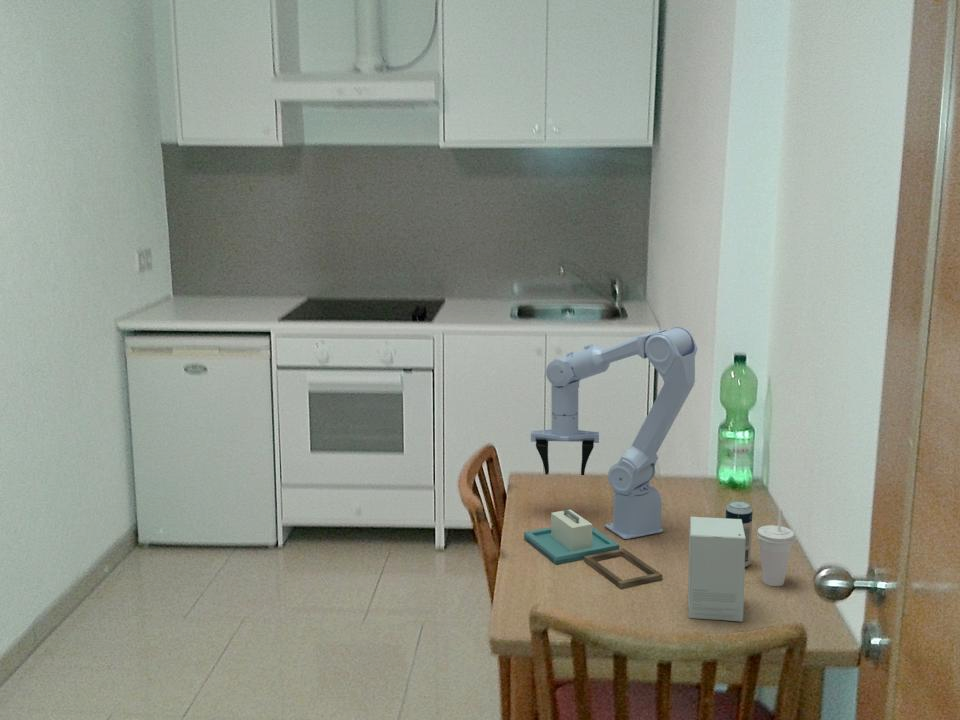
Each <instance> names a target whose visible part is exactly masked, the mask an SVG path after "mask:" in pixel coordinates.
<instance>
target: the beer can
mask: <svg viewBox="0 0 960 720" xmlns="http://www.w3.org/2000/svg"><path fill="white" fill-rule="evenodd" d="M725 518H727V519H742V524H743V528H744V533H745V537H746V544H745V568H746V567H749V566H750V564H751V553H752V552H751V551H752V550H751V549H752V534H753V532H752V531H753V530H752V529H753V509H752V506H751V504H750V502H747V501H743V500H733V501H730V502H728V504H727V506H726V507H725Z"/></svg>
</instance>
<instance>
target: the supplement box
mask: <svg viewBox="0 0 960 720" xmlns="http://www.w3.org/2000/svg"><path fill="white" fill-rule="evenodd" d="M689 518H690V519H689V536H688V537H689V538H688V539H689V540H688V579H687V580H688V584H687V585H688V590H687V599H688V604H687V605H688V618H689V619H699V620H700V619H701V620H712V621H714V620H715V621H716V620H717V621H728V622H740V623H741V622H744V605H745V604H744V603H745V601H744V600H745V570H746V567H745V544H746V537H745V533H744V528H743V524H742V519H727V518H726V517H725V518H722V517H721V518H720V517H707V516H706V517H704V516H703V517H702V516H690V517H689Z"/></svg>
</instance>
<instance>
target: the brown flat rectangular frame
mask: <svg viewBox="0 0 960 720" xmlns="http://www.w3.org/2000/svg"><path fill="white" fill-rule="evenodd" d="M617 557H623V558H624V559H625V560H627V561H628V562H629V563H632V564H633V566H634V565H635V567H637V568H638V569H640V570H641V571H643V572H644V573H646V574H647V575H642V576H637V577H633V578H628V579H622V578H620V577H619V576H617V575H616V574H615V573H614V572H612V571H611V570H609V569H608V568H607V567H606V566H604V565H602V563H600V562H598V561H602V560H608V559H612V558H617ZM583 562H585V563H586V564H587V565H589V566H590V567H591V568H592V569H593V570H595V571H596V572H598V573H599V574H601V575H602V576H603V577H605V579H608V581H610V582H611V583H612V584H614V585H615V586H617V587H618V588H619V589H627V588H632V587H635V586H641V585H644V584H645V585H646V584H649V583H654V582H658V581H662V580H663V574H662V573H661V572H660V571H658V570H656V569H655V568H653V567H651V566H650V565H649V564H647V563H646V562H645V561H643V560H641V559H640V558H638V557H637V556H635V555H634V554H633V553H632V552H629V550H627V549H625V548H619V549H618V550H613V551H608V552H603V553H598V554H593V555H588V556H584V559H583Z"/></svg>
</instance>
